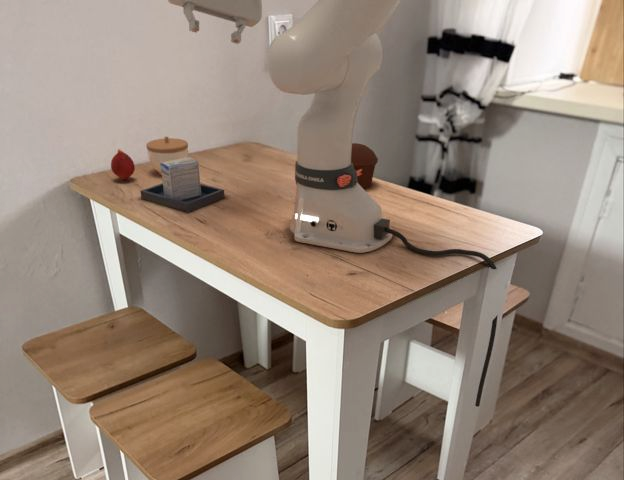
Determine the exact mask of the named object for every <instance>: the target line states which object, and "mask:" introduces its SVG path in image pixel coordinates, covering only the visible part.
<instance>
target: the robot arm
mask: <svg viewBox="0 0 624 480" xmlns="http://www.w3.org/2000/svg"><path fill="white" fill-rule="evenodd" d="M401 1H402V0H317V1H316V2H315V3H314V4H313V5H312V6H311V7H310V8H309V9H308V11H306V13H304V14H303V16H302V17H300V19H298V21H296V22H295V23H294V24H293V25H292V26H290V27H289V28H288V29H287V30H285V31H283V32H282V33H280V34H278V35H276V36H275V37H274V38H273V39H272V41H271V42H270V44H269V46H268V49H267V53H266V67H267V72H268V75H269V78H270V80H271V82H272V83H273V85H274V86H275V87H276V88H277V89H278V90H279V91H280V92H283V93H286V94H292V95H293V94H294V95H302V96H303V95H305V96H307V95H312V94H313V97H312V100H311V102H310V104H309V107H308V108H307V109H306V110H305V112H304V113H303V114H302V115H301V116H300V119H299V120H298V123H297V127H296V155H297V156H296V161H295V163H294V164H295V165H294V181H295V185H296V189H295V200H294V206H293V213H292V216H291V220H290V221H291V222H290V224H289V230H290V232H291V233H292V234H293V236H294V237H293V240H294V241H295V242H298V243H302V244H309V245H313V246H319V247H324V248H329V249H334V250H341V251H346V252H351V253H352V252H353V253H356V254H364V253H368V252H372V251H375V250H377V249H379V248H382V247H383V246H384V245H386V244H387V243H388V242H390V241H391V240H392V239H393V236H395V237H397V238H398V239H399V240H400V241H401V242H402V243H403V245H404V246H405V247H406V248H408V249H409V250H411V251H413V252H414V253H416V254H421V255H425V256H430V257H431V256H433V257H440V256H447V255H464V256H465V255H466V256H472V257H477V258H479V259H481V260H483V261H484V262H485V263H486V264H487V265H488V267H489V268H490V269H492V270H498V268H497V265H496V264H495V263H494V262H493V260H492V259H491V258H490V257H489V256H488V255H486V254H484V253H482V252H480V251H476V250H469V249H462V248H450V249H443V250H429V249H423V248H419V247H416V246H415V245H413V244H412V243H410V242H409V241H408V240H407V237H406V236H404V235H403V233H400V232H399V231H397V230H394V229H393V228H392V227H390V224H391V220H390V219H386V218H384V217H383V210H382V207H381V206H380V204H379V202H377V201H376V200H375V199H374V198H373V197H372V196H371V195H370V194H369V193H368V192H367V191H366V189H363V188H362V187H361V186H360V185H359V184H358V183H357V182H358V180H357V176H359V175H361V174H362V173H360V172H361V171H362V169H360V170H358V171H355V169H354V167H353V164H352V162H351V152H352V143H353V138H354V128H355V121H356V117H357V113H358V111H359V108H360V104H361V101H362V98H363V96H364V94H365V91H366V89H367V87H368V86H369V83H370V82H371V81H372V79H373V78H374V77H375V76H376V75H377V73H378V72H379V70H380V68H381V65H382V61H383V46H382V43H381V40H380V38H379V36H378V34H377V32H379V31H380V30H381V29H382V28H384V26H385V25H386V24H387V22H388V21H389V19H390V18H391V16H392V15H393V14H394V11H395V10H396V9H397V7H398V5H399V4H400V2H401ZM167 2H168V3H169V4H171V5H173V6H174V5H175V6H178V7H181V8H183V10H182V11H183V15H184V16H185V18H186V20H187V23H188V30H189V31H190V32H192V33H196V34H197V33H198V32H199V31H200V20H197V19H196V18H195V15H194V12H193V11H195V12H198V13H201V14H206V15H209V16H212V17H216V18H218V19H219V18H220V19H221V20H222V19H223V20H225V21H228V22H232V23H235V28H237V29H236V31H233V32H232V33H231V34H230V38H231V39H230V41H231V43H233V44H236V45H239V44H240V43H241V41H242V34H243V32H244V30H245V28H246V27H249V28H253V27H254V26H256V25H257V24H259V23H260V21H261V20H262V18H263V17H262V16H263V6H262V5H263V4H262V2H263V1H262V0H167ZM359 173H360V174H359ZM498 316H499V315H498V314H497V315H496V316H495V317H493V320H492V321H491V327H490V329H491V330H490V334H489V341H488V345H487V350H486V355H485V359H484V363H483V366H482V372H481V376H480V379H479V380H480V381H479V384H478V388H477V393H476V399H475V405H474V406H475V407H477V408H478V407H480V405H481V400H482V396H483V395H482V394H483V390H484V385H485V380H486V378H487V373H488V369H489V364H490V362H491V356H492V354H493V353H492V352H493V348H494V344H495V343H494V342H495V337H496V331H497V325H498Z"/></svg>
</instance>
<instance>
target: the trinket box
mask: <svg viewBox="0 0 624 480" xmlns="http://www.w3.org/2000/svg"><path fill="white" fill-rule="evenodd" d="M145 146H146V150H147V156H148V159H149V162H150V164H151V166H152V168H153V169H154V170H155V171H156V172H158V174H159V175H160V176H162V173H161V165H160V163H162V162H166V161H171V160H176V159H182V158H187V157H189V148H188V147H189V143H188V141H187V140H184V139H182V138H174V137H173V138H171V137H170V138H169V136H164V137H163V138H158V139H153V140H150V141H148V142H147V143H146V145H145Z"/></svg>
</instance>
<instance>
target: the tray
mask: <svg viewBox="0 0 624 480" xmlns="http://www.w3.org/2000/svg"><path fill="white" fill-rule="evenodd" d="M200 186H201V196H198V197H194V198H190V199H186V200H182V201H180V200H176V199H173V198H169V197H166V196H164V189H163V182H162V183H159V184H156V185H153V186H150V187H148V188H144V189H142V190H139V191H140V196H141V197H140V199H141V200H144V201H147V202H151V203H155V204H159V205H161V206H164V207H168V208H171V209H174V210H178V211H181V212H186V213H190V212H193V211H196V210H198V209H200V208H201V209H202V208H203V207H205V206H208V205H210V204H213V203H215V202H218V201H220V200H222V199H223V200H224V199H225V198H226V197H225V189H223V188H219V187H215V186H211V185H209V184H208V185H207V184H203V183H200Z"/></svg>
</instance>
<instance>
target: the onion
mask: <svg viewBox="0 0 624 480" xmlns="http://www.w3.org/2000/svg"><path fill="white" fill-rule="evenodd" d="M135 167H136V166H135V162H134V160H133V159H132V157H130V156H129V154H128V153H125V152H124V151H123V150H122V149H121V148H118V149H117V152H116V154H115V155H114V156H113V157H112V158H111V161H110V169H111V171H112V173H113V174H114V175H115V176H116V177H118V178H119V179H121V181H127V180H128V179H130V177H132V175H133V174H134V172H135Z"/></svg>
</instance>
